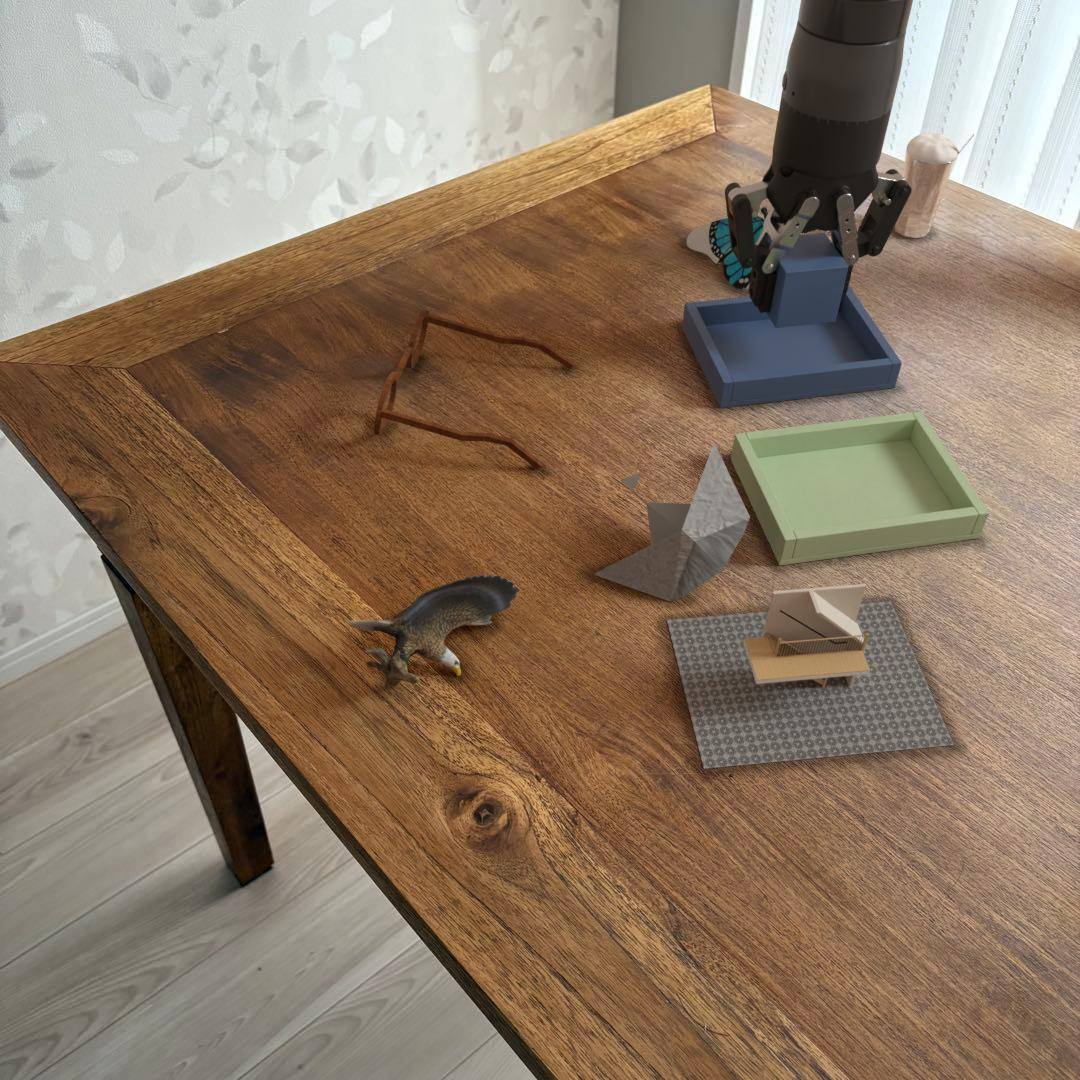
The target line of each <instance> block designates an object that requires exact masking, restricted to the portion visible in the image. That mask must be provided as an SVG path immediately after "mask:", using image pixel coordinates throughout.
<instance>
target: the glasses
mask: <svg viewBox="0 0 1080 1080" xmlns="http://www.w3.org/2000/svg"><path fill="white" fill-rule="evenodd" d="M429 324H430V325H431V324H432V325H436V326H438V327H442V328H445V329H449V330H453V331H456V332H459V333H462V334H466V335H469V336H473V337H475V338H479V339H484V340H486V341H490V342H493V343H497V344H500V345H516V346H523V347H528V348H533V349H537V350H540V351H541V352H542V353H544V354H546V355H547V356H549V357H550V358H552V359H553V360H554V361H556V362H557V363H559V364H560V365H562V366H564V367H565V368H566V369H568V370H571V369H572V368H573V367H574V366H575V362H574V361H572V360H571V359H570V358H568V357H567V356H566V355H564V354H563V353H561V352H560V351H558V350H556V349H555V348H553V347H552V346H551V345H549V344H548V343H547V342H544V341H541V340H537V339H533V338H528V337H524V336H513V335H502V334H499V333H496V332H493V331H490V330H486V329H482V328H479V327H475V326H472V325H469V324H466V323H462V322H458V321H454V320H451V319H447V318H445V317H441V316H437V315H434V314H431V313H430V311H429V309H426V308H422V309H421V310H420V312H419V314H418V316H417V318H416V321H415V323H414V326H413V329H412V332H411V336H410V339H409V343H408V346H407V347H406V348H405V350H404V352H403V354H402V356H401V358H400V360H399V362H398V365H397V367H396V370H395V371H391V372H390V373H389V375H388V376H387V378H386V380H385V382H384V384H383V387H382V390H381V393H380V396H379V400H378V403H377V406H376V410H375V411H376V412H375V416H374V426H373V433H374V435H377V436H382V435H383V434H384V432H385V430H386V428H387V426H388V423H389V421H393V422H396V423H399V424H402V425H406V426H409V427H413V428H416V429H419V430H423V431H427V432H430V433H433V434H437V435H440V436H443V437H447V438H450V439H454V440H457V441H460V442H486V443H491V444H495V445H502V446H506V447H507V448H509V450H511V451H513V452H514V453H515V454H516V455H517V456H519V457H520V458H521V459H523V460H524V461H525V462H526V463H528V464H529V465H531V466H532V467H533V468H535V469H536V470H539V469H540V468H542V467H543V465H544V462H542V461H541V460H540V459H539V458H538V457H536V456H535V455H534V454H532V453H531V452H530V451H528V449H526V448H525V447H524V446H522V445H521V444H520V443H518V442H517V441H516V440H514V439H513V438H510V437H506V436H502V435H499V434H495V433H489V432H477V431H475V432H474V431H473V432H470V431H462V430H459V429H455V428H452V427H448V426H444V425H442V424H438V423H434V422H432V421H428V420H424V419H421V418H417V417H414V416H410V415H407V414H403V413H400V412H397V411H394V410H393V409H394V406H395V402H396V398H397V392H398V387H399V380H400V378H401V376H402V373H403V371H404V369H405V367H406V368H408V369H410V370H411V369H414V368H415V366H416V365H417V363H418V360H419V358H420V355H421V353H422V350H423V346H424V344H425V339H426V335H427V330H428V325H429ZM420 328H421V329H420ZM419 332H420V333H419ZM418 335H419V338H418ZM417 338H418V342H417ZM416 342H417V345H416ZM415 346H416V347H415ZM388 394H389V400H388V403H387V407H386V408H384V407H385V403H386V400H387V397H388Z"/></svg>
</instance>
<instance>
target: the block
mask: <svg viewBox="0 0 1080 1080" xmlns="http://www.w3.org/2000/svg"><path fill="white" fill-rule="evenodd" d="M847 271H848V265H847V264H846V262H845V261H844V259H843V258H842V256H841V255H840V254H839V252H838V251H837V249H836V248H835V246H834V245H833V244H832V240H831V239H830V238H829V237H828V235H827V234H826V232H818V233H804V234H800V236H799V237H798V239H797V241H796V243H795V245H794V246H793V248H792V249H791V250H787V251H786V253H785V255H784V256H783V258H782V260H781V262H780V264H779V265H778V267H777V269H776V272H777V278H776V283H775V289H774V294H773V300H772V305H771V310H770V312H766V313H767V315H768V316H769V318H770V320H771V321H772V323H773V325H774V327H775V328H780V327H789V326H799V325H808V324H818V323H828V322H835V321H836V317H837V313H838V309H839V305H840V300H841V296H842V292H843V288H844V283H845V279H846V275H847Z"/></svg>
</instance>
